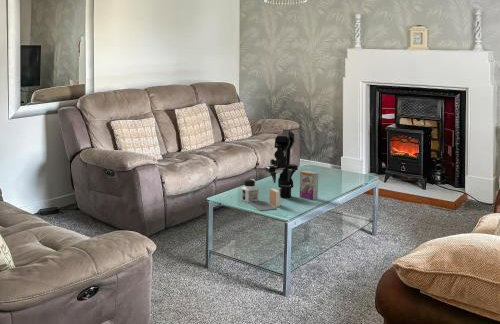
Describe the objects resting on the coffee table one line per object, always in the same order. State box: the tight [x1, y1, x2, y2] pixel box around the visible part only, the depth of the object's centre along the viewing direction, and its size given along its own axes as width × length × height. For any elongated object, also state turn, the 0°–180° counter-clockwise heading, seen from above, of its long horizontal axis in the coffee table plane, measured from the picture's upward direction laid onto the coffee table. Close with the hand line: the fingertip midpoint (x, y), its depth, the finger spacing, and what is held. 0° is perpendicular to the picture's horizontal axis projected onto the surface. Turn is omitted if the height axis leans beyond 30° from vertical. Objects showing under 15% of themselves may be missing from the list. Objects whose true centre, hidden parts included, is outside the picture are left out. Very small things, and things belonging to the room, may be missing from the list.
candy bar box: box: [299, 170, 319, 201], centre depth 365 cm, size 11×5×16 cm, turn 43°
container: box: [240, 178, 259, 203], centre depth 360 cm, size 8×8×13 cm
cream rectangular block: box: [269, 188, 281, 208], centre depth 350 cm, size 3×8×9 cm, turn 21°
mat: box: [248, 200, 278, 212], centre depth 348 cm, size 10×18×1 cm, turn 21°
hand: (281, 182), depth 351 cm, fingers open, 9 cm apart
